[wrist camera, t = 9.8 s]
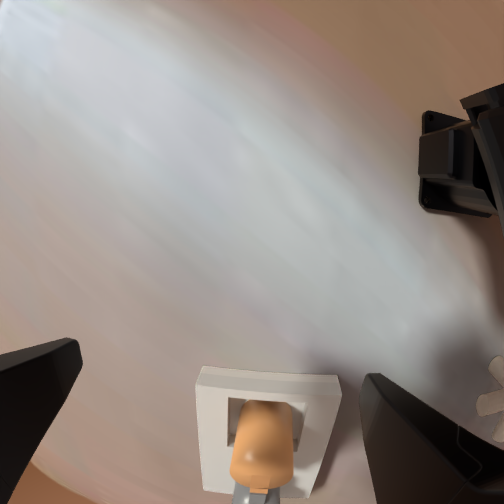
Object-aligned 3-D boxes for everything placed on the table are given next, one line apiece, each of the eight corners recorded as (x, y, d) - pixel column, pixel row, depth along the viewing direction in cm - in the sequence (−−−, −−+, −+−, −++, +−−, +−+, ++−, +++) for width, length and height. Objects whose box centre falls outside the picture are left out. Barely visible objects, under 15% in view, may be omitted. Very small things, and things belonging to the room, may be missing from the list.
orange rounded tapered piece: (295, 397, 21) (298, 457, 15) (287, 437, 22) (287, 494, 16) (241, 393, 21) (229, 452, 15) (238, 433, 22) (229, 490, 17)
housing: (337, 374, 21) (351, 429, 16) (307, 479, 25) (309, 526, 19) (202, 365, 22) (182, 417, 16) (207, 472, 25) (196, 517, 20)
